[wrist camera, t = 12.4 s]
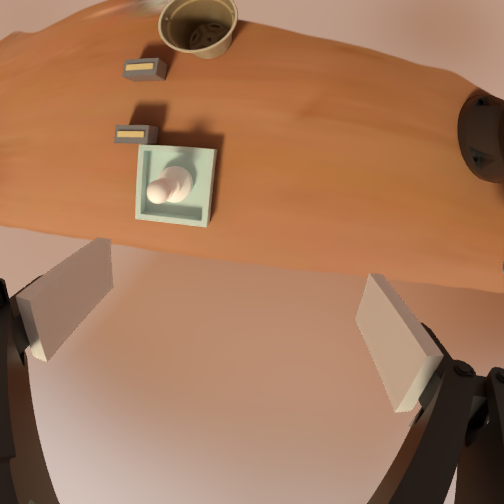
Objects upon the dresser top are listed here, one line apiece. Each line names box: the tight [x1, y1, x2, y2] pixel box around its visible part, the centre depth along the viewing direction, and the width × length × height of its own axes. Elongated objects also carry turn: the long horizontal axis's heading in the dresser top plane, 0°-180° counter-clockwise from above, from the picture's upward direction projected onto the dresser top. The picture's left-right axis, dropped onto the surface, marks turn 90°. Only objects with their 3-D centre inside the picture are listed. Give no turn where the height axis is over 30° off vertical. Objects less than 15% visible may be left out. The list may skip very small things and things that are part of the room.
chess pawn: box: [147, 166, 193, 204], centre depth 36 cm, size 5×5×9 cm
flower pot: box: [158, 0, 238, 59], centre depth 30 cm, size 9×9×9 cm
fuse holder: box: [114, 58, 168, 144], centre depth 35 cm, size 5×12×4 cm, turn 173°
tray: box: [135, 144, 217, 227], centre depth 40 cm, size 11×11×2 cm
